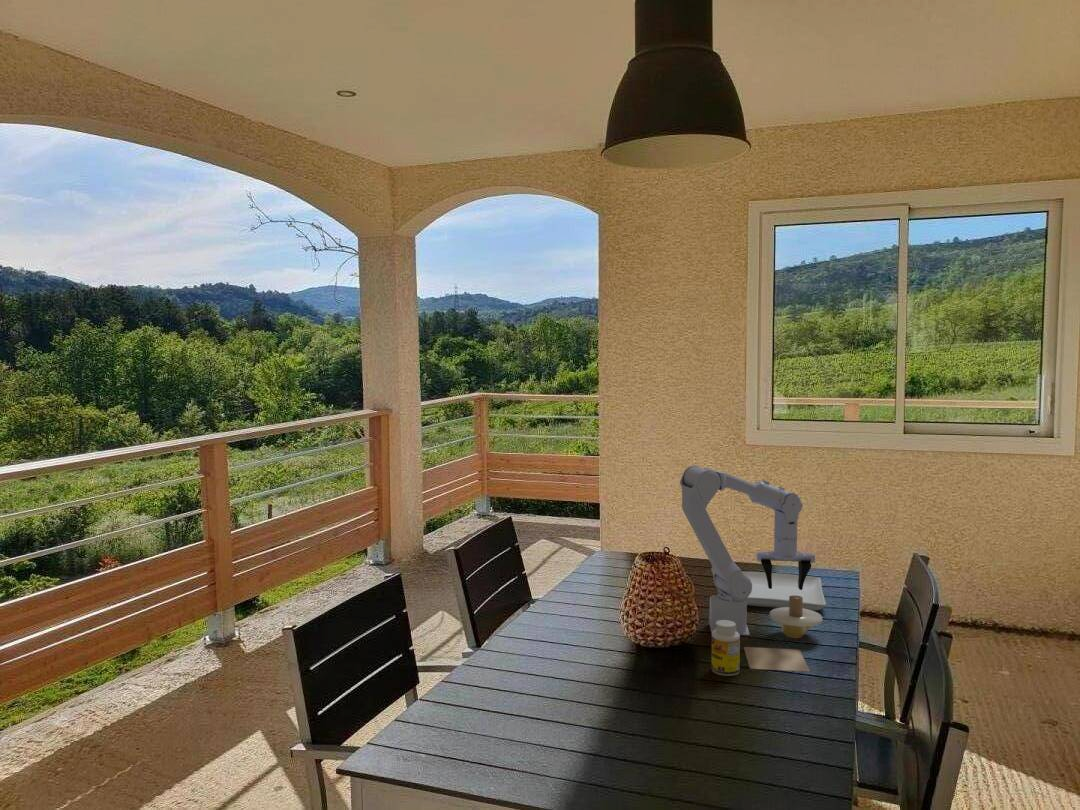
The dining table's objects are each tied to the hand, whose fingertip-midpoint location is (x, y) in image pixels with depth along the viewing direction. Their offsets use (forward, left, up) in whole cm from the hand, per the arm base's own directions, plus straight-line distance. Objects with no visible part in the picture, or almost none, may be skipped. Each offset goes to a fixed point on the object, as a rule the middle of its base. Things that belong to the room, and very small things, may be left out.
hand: (785, 588), depth 201 cm
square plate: (+1, +25, -10) cm, 27 cm away
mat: (-6, -25, -10) cm, 28 cm away
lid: (+1, -9, -5) cm, 10 cm away
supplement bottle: (-18, -33, -10) cm, 39 cm away
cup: (+1, -9, -10) cm, 14 cm away
